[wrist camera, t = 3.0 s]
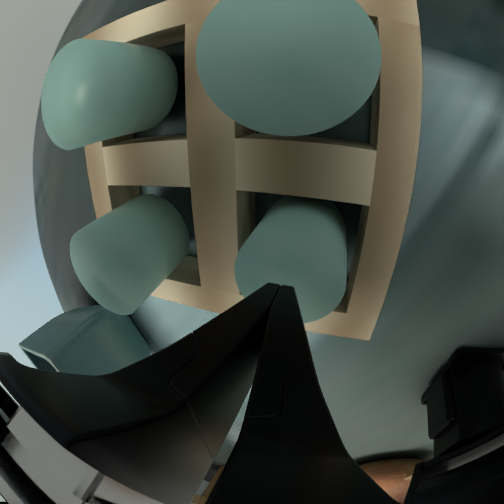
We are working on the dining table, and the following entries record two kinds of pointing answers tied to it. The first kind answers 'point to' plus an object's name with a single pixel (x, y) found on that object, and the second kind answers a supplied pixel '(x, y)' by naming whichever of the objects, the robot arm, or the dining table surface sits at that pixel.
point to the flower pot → (86, 342)
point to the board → (272, 166)
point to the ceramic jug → (392, 475)
